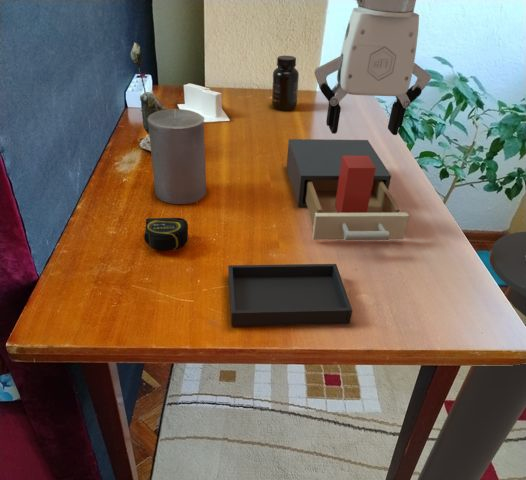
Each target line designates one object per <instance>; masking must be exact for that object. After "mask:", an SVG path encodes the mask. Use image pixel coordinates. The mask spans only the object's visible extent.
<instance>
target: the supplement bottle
mask: <svg viewBox="0 0 526 480" xmlns="http://www.w3.org/2000/svg"><path fill="white" fill-rule="evenodd" d="M276 66H277V67H276V68H275V69H274V70H273V72H272V87H271V89H272V92H271V93H272V94H271V106H272V108H273V109H274V110H277V111H281V112H289V111H290V112H291V111H293V110H296V108H297V106H298V93H299V81H300V80H299V79H300V73H299V71H298V70H297V69H296V66H297V57H296V56H293V55H279V56H277V58H276Z"/></svg>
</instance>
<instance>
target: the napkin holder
mask: <svg viewBox="0 0 526 480" xmlns="http://www.w3.org/2000/svg"><path fill="white" fill-rule="evenodd" d="M183 95H184V97H183V98H184V103H177V108H178V109H183V110H190V111H193V112H196V113H198V114H200V115H202V116H203V117H204V123H214V122H215V123H216V122H217V123H218V122H230V121H231V119H230V118H229V116H228V115H227V114H226V112H225V111H224V110H223V107H222V106H223V105H222V104H223V103H222V93H221V92H218V91H214V90H211V88H209V87H205V86H202V85H198V84H194V83H191V82H190V83H189V82H188V83H187V84H183Z"/></svg>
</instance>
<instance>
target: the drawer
mask: <svg viewBox="0 0 526 480" xmlns="http://www.w3.org/2000/svg"><path fill="white" fill-rule="evenodd" d="M338 181H339V180H305V185H304V198H305V201H306V204H307V207H306V208H307V210H308V213H309V217H310V219H311V222H312V225H313V226H312V234H311V237H312V240H314V241H323V240H324V241H326V240H327V241H330V240H333V241H336V240H337V241H338V240H339V241H340V240H343V241H389V240H404V236H405V232H406V230H407V229H406V228H407V225H408V222H409V217H410V215H409V213H408V212H401V208H400V207H399V205H398V204H397V202H396V201H395V199H394V198H393V195H392V194H391V192H390V191H389V188H388V189H387V188H386V186H385V184H384V183H383V181H382V180H373V184H372V189H371V194H370V199H369V204H368V209H367V213H338V212H337V209H336V207H335V201H336V194H337V187H338Z"/></svg>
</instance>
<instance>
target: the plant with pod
mask: <svg viewBox="0 0 526 480" xmlns="http://www.w3.org/2000/svg"><path fill="white" fill-rule="evenodd" d="M130 58H131V60H132V62H133V63H134V64H135V65H136V66H137V68H138V71H139V75H140V78H141V83H142V87H143V93H142V94H140V96H139V100H140V107H141V109H140V112H141V118H142V127H143V130H144V131H145V132H146V133H147V134H145V137H142V138H140V139H139V144H138V145H139V146H138V147H139V148H141V149H144V150H145V151H149V152H151V145H150V136H149V127H148V116H149V115H151V114H152V113H154V112H157V111H161V110H167V108H165V106H164V104H163V102H162V101H161V100H160V99H159V97H158V96H157V95H156V94H155V93H153V92H150V91H146V87H145V83H144V79H143V75H142V67H141V65H142V64H143V57H142V50H141V45H140V44H139V43H138V42H133V46H132V48H131V51H130Z"/></svg>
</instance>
